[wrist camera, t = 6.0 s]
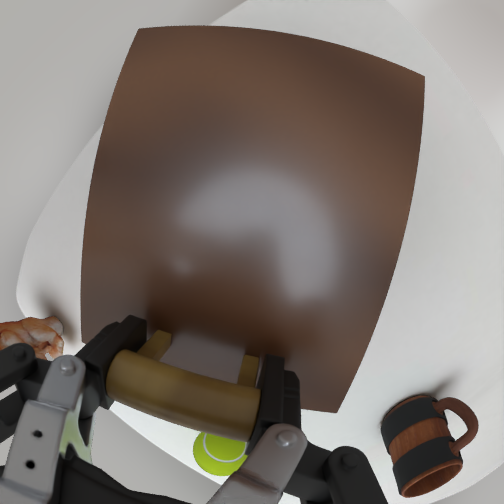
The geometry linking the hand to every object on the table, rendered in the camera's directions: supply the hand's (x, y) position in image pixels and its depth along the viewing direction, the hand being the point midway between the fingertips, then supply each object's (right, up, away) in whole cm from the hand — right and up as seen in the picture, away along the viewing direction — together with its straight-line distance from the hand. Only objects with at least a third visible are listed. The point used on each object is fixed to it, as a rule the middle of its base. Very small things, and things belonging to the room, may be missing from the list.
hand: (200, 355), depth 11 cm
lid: (+1, +6, +1) cm, 6 cm away
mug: (+24, -16, +17) cm, 33 cm away
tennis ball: (-1, -19, +21) cm, 28 cm away
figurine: (-24, -5, +19) cm, 31 cm away
